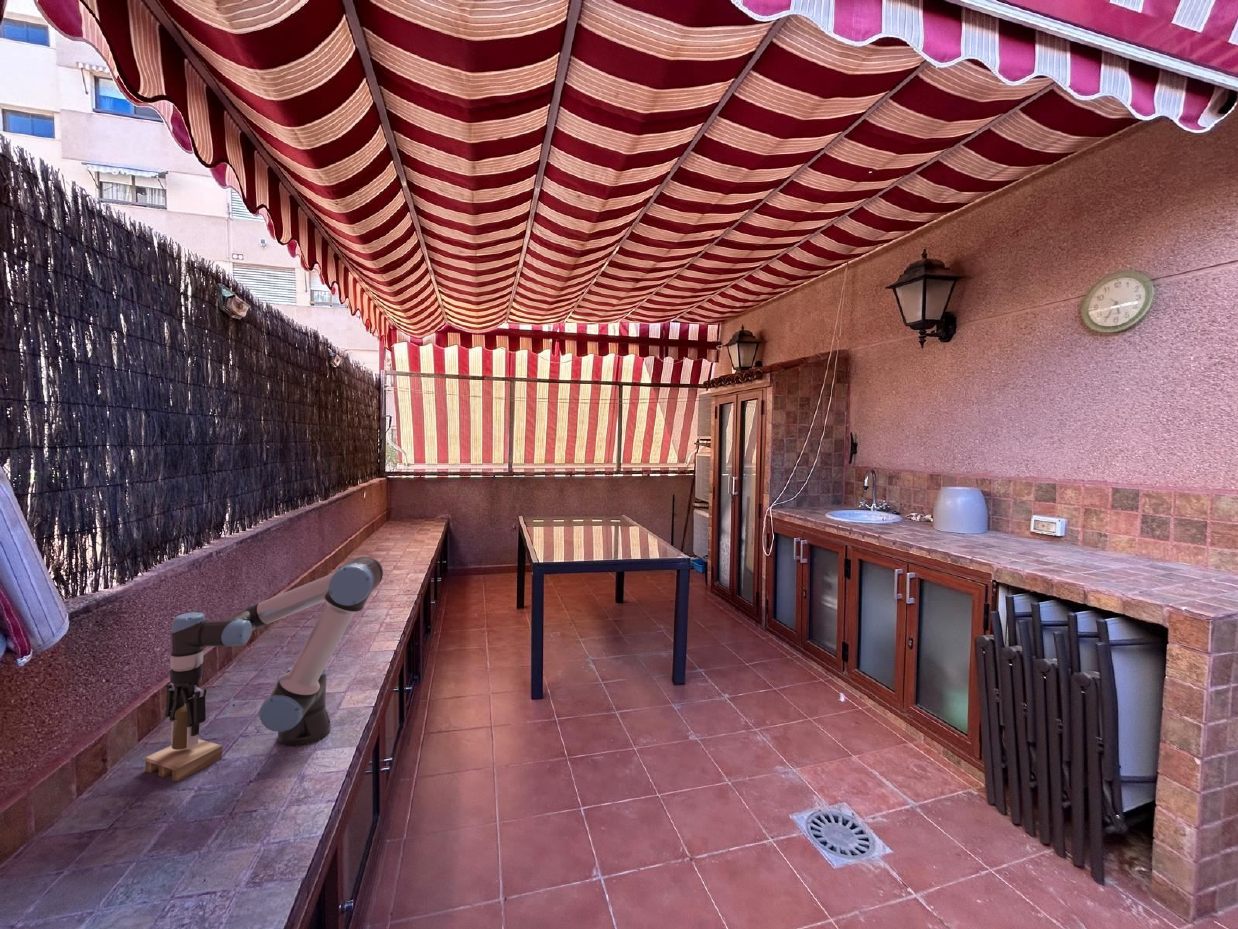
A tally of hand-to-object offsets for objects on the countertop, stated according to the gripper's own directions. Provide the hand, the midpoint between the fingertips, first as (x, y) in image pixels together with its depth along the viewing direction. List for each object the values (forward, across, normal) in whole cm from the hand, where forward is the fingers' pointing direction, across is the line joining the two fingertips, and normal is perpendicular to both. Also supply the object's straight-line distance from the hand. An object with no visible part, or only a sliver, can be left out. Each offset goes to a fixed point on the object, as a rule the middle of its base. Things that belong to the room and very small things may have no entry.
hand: (184, 743), depth 153 cm
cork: (0, 0, 0) cm, 1 cm away
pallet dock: (+6, 0, 0) cm, 6 cm away
